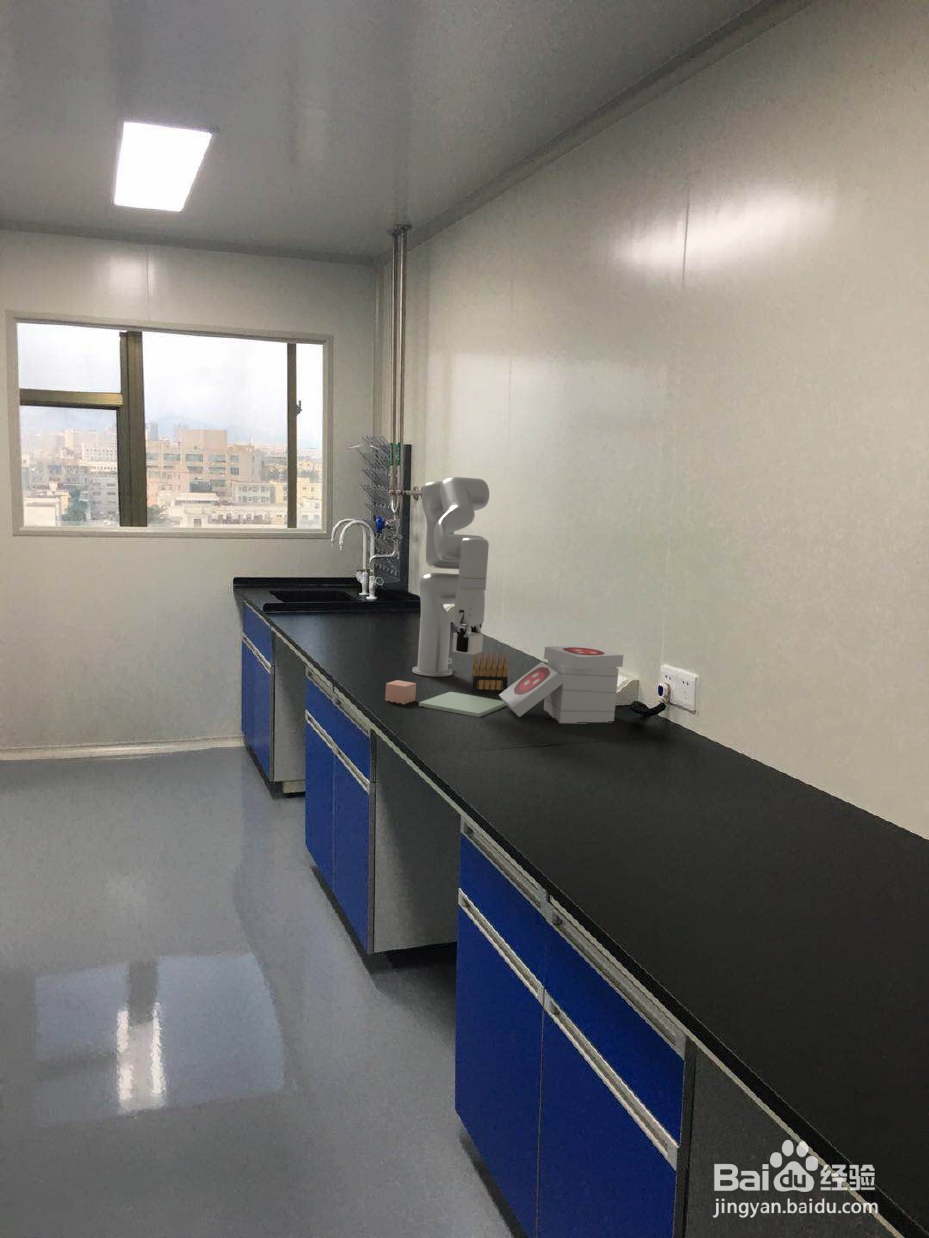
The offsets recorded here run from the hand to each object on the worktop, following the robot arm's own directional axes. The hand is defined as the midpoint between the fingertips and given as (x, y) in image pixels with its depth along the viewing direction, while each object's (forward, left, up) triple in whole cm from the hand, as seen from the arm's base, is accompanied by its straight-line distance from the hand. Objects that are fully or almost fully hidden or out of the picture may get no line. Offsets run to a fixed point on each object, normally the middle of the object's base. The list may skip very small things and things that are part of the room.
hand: (467, 649), depth 267 cm
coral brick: (+7, -16, -16) cm, 24 cm away
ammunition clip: (-20, -2, -16) cm, 26 cm away
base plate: (0, 0, -16) cm, 16 cm away
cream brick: (0, 0, -1) cm, 1 cm away
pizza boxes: (-7, +25, -16) cm, 31 cm away
